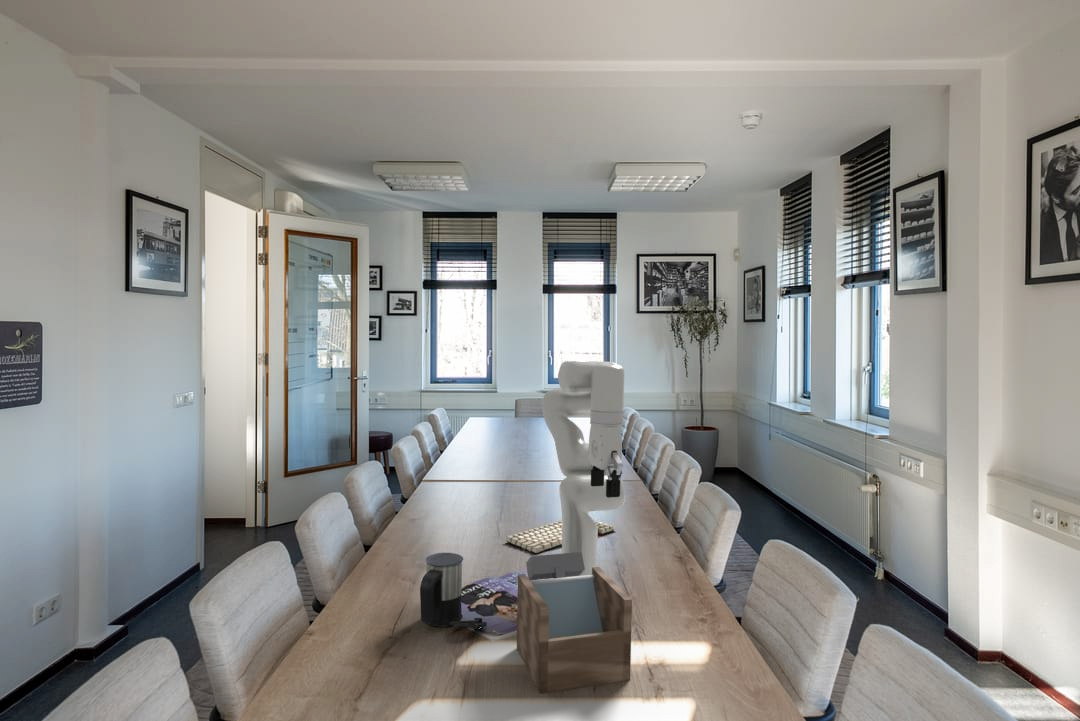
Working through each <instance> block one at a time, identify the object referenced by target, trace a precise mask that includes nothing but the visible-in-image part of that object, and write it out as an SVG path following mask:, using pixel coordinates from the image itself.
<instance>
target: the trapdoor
mask: <svg viewBox="0 0 1080 721" xmlns="http://www.w3.org/2000/svg"><path fill="white" fill-rule="evenodd" d="M525 562H526V563H525V564H526V571H527V578H528V579H529V580H530V582H531V583H532V585H533V586H534V588H535V589H536V591H537V592H538V593H539V595H540V596H541V598H542V599H543V601H544V602H545V604H546V605H547V606H548V608H549V637H548V639H553V638H561V637H569V636H576V635H584V634H592V633H600V632H603V631H602V626H601V621H600V615H599V610H598V605H597V600H596V594H595V589H594V584H593V580H594V575H584V576H579V575H580V574H581V573H582V572H583V571H584V570H585V567H584V562H583V556H582V552H575V553H563V554H562V553H554V554H553V553H552V554H543V555H530V556H529V558H528V560H527V561H525ZM570 576H574V577H570Z"/></svg>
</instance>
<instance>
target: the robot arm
mask: <svg viewBox="0 0 1080 721" xmlns="http://www.w3.org/2000/svg"><path fill="white" fill-rule="evenodd" d="M557 379H558V384H559V387H560V388H554V389H551V390H548V391H546V392H545V394H544V395H543V397H542V402H541V408H542V414H543V419H544V422H545V425H546V427H547V429H548V431H549V432H550V434H551V436H552V439H553V441H554V446H555V451H556V455H557V456H556V457H557V462H558V465H559V469H560V472H561V473H562V475H563V476H564V477H565V478H563V479H562V480H561V482H560V484H559V490H558V491H559V492H558V493H559V498H560V508H561V521H562V548H561V554H563V553H575V552H582V556H583V562H584V567H585V570H584V571H583V572H582V573H581V574H580V575H579V576H584V575H592V567H598V539H599V538H598V530H597V525H596V523H595V522H594V519H593V517H591V516H590V514H589V513H591V512H600V511H601V512H603V511H607V512H608V511H616V510H619V509H621V508H622V507H623V506H624V504H625V502H626V488H625V485H624V481H623V478H622V474H623V471H622V470H623V468H624V467H623V466H624V465H623V464H624V463H623V461H622V460H623V452H622V451H623V446H622V445H623V442H622V441H623V439H622V426H623V425H624V401H625V397H624V396H625V391H624V390H625V369H624V367H623V366H621V364H617V363H616V362H613V361H597V360H596V361H594V360H593V361H591V360H575V361H574V360H573V361H564V362H562V363H561V364H560V366H559V370H558V373H557ZM570 418H589V419H590V421H589V424H590V429H589V438H588V442H586V441H585V438H584V433H583V431H582V429H581V428H580V427H579V426H578V425H577V424H576V422H575V423H574V421H573V420H571V419H570ZM597 538H598V539H597ZM570 577H574V576H570Z"/></svg>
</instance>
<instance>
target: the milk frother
mask: <svg viewBox="0 0 1080 721" xmlns="http://www.w3.org/2000/svg"><path fill="white" fill-rule="evenodd" d="M463 557H464V556H462V555H460V554H458V553H455V552H454V553H453V552H437V553H433V554H430V555H427V556H426V557H425V558H424V559H425V560H424V562H426V573H425V574H424V575H423V577H422V578H421V582H420V588H419V596H420V598H419V601H420V605H419V606H420V620H421V622H423V623H427V625H429V626H433V627H440V628H443V627H451V626H455V627H459V628H460V627H462V628H472V629H474V630H475V629H479V628H480V627H482V628H485V627H487V626H488V623H487V622H486V621H483V618H482V617H475V618H474V619H472V620H471V619H469V620H463V618H464V617H463V613H462V611H463V610H462V589H463V588H462V582H463V581H462V580H463V579H462V576H463V562H464V558H463ZM462 617H463V618H462ZM461 619H462V620H461ZM460 620H461V621H460Z"/></svg>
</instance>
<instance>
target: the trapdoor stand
mask: <svg viewBox="0 0 1080 721" xmlns="http://www.w3.org/2000/svg"><path fill="white" fill-rule="evenodd" d="M592 575H594V580H593V584H594V589H595V594H596V600H597V605H598V610H599V615H600V621H601V626H602V631H603V632H600V633H592V634H584V635H576V636H569V637H561V638H553V639H548V637H549V608H548V606H547V605H546V604H545V602H544V601H543V599H542V598H541V596H540V595H539V593H538V592H537V591H536V589H535V588H534V586H533V585H532V583H531V582H530V581H531V580H529V579H528V575H526V573H519V574H517V600H516V601H517V602H516V603H517V604H516V606H517V608H516V610H517V611H516V613H517V614H516V650H517V652H518V653H519V656H520V657H521V659H522V662H523V663H524V665H525V667H526V670H527V672H528V674H529V675H530V678H531V680H532V681H533V683H534V686H535V687H536V689H537V692H538V694H546V693H551V692H559V691H564V690H572V689H578V688H584V687H585V688H586V687H591V686H597V685H604V684H611V683H618V682H619V683H620V682H625V681H630V680H631V659H632V658H631V657H632V655H631V653H632V623H633V622H632V617H633V615H632V614H633V599H632V598H631V597H630V596H629V595H628V594H627V592H625V591H624V590H623V589H622V587H620V586H619V585H618V584H617V583H616V582H615V581H614V580H613V579H612V578H611V577H610V576H609V575H608V574H607V573H606V572H605V571H604V570H603V569H601V567H599V566H597V567H592Z"/></svg>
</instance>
